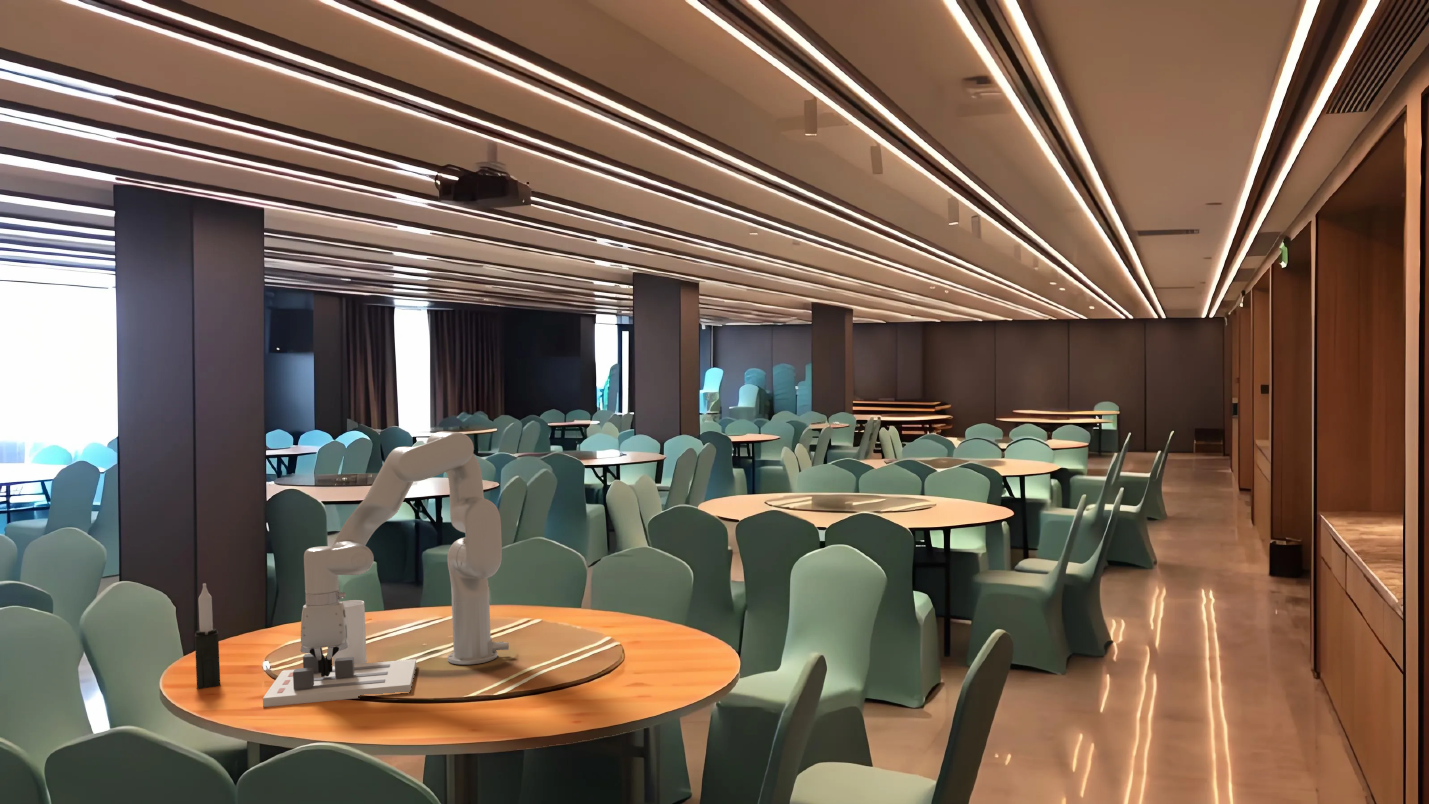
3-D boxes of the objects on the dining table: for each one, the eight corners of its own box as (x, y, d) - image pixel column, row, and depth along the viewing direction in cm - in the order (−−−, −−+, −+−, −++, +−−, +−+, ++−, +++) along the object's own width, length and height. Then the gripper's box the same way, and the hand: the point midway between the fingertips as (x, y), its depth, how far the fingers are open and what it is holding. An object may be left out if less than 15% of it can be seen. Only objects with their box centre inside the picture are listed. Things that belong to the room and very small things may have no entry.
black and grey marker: (197, 689, 253) (192, 586, 252) (196, 684, 257) (192, 582, 257) (220, 685, 255) (216, 583, 255) (219, 681, 260) (215, 580, 259)
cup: (355, 669, 266) (353, 606, 266) (326, 668, 268) (324, 606, 268) (372, 661, 274) (370, 600, 274) (344, 660, 276) (341, 599, 276)
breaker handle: (354, 673, 254) (353, 656, 254) (353, 676, 251) (352, 659, 251) (337, 674, 253) (336, 658, 253) (335, 678, 250) (334, 661, 250)
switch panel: (416, 666, 267) (415, 641, 267) (410, 693, 244) (409, 665, 243) (282, 678, 260) (281, 652, 260) (263, 706, 237) (262, 678, 236)
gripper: (357, 593, 256) (360, 668, 256) (292, 598, 253) (295, 673, 253) (353, 599, 248) (356, 676, 249) (286, 604, 245) (289, 682, 246)
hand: (325, 674), depth 251 cm, fingers closed
